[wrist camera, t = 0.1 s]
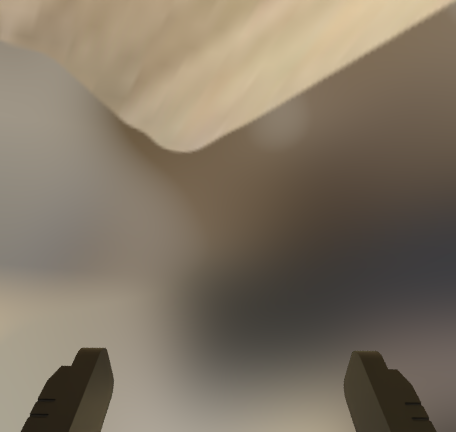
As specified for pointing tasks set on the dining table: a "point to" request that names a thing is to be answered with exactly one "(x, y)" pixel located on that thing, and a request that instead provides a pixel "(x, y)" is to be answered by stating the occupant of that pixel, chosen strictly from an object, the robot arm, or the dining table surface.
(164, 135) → the dining table surface
